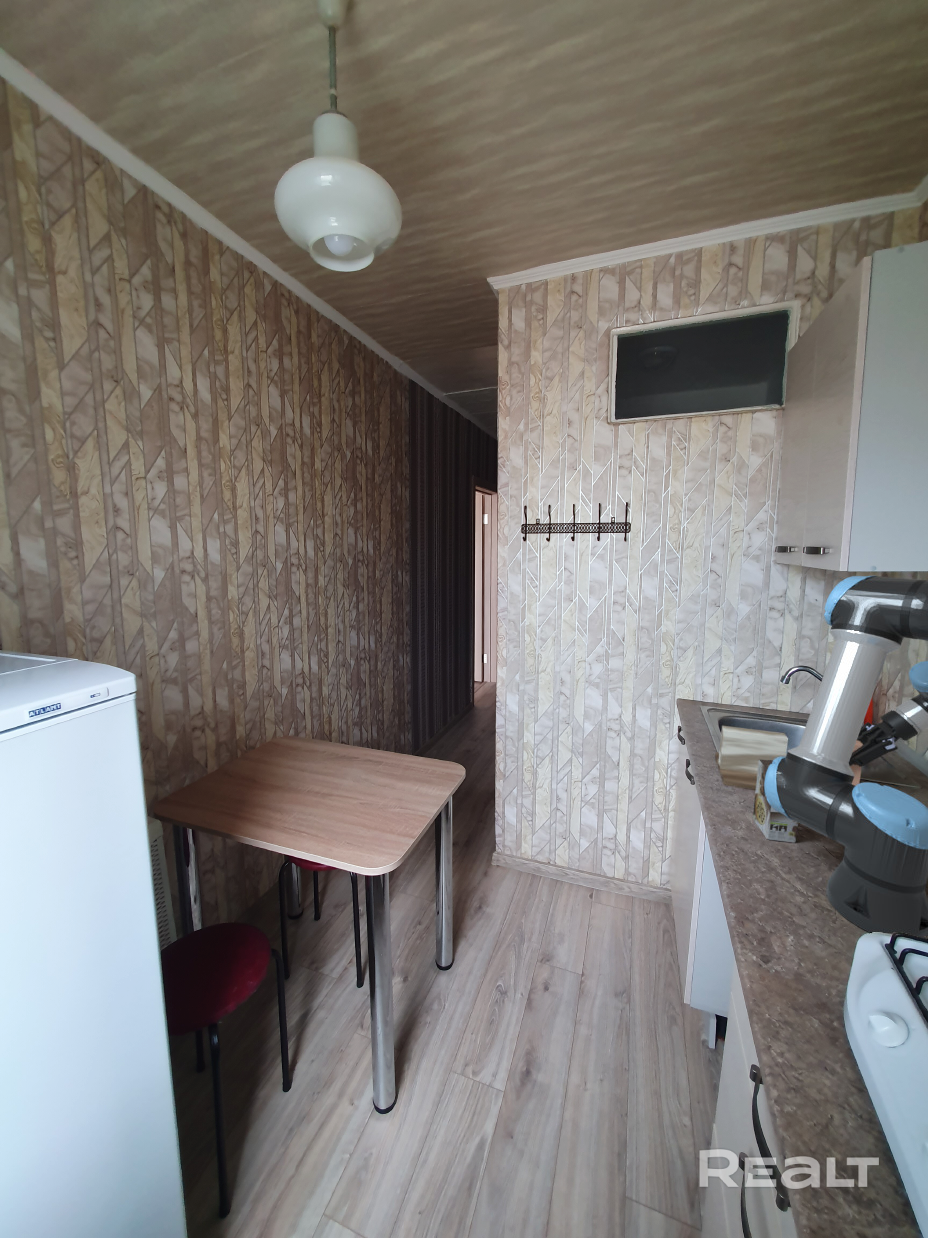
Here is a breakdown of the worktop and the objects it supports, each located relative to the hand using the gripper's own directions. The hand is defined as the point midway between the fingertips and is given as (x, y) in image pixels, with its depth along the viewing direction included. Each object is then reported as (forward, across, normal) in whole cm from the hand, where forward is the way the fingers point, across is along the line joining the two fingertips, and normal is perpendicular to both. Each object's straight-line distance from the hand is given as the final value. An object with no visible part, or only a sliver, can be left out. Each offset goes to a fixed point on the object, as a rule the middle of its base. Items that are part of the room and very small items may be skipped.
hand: (823, 768), depth 133 cm
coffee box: (+17, -28, +9) cm, 34 cm away
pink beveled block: (0, 0, -5) cm, 5 cm away
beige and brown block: (+13, 0, +5) cm, 14 cm away
